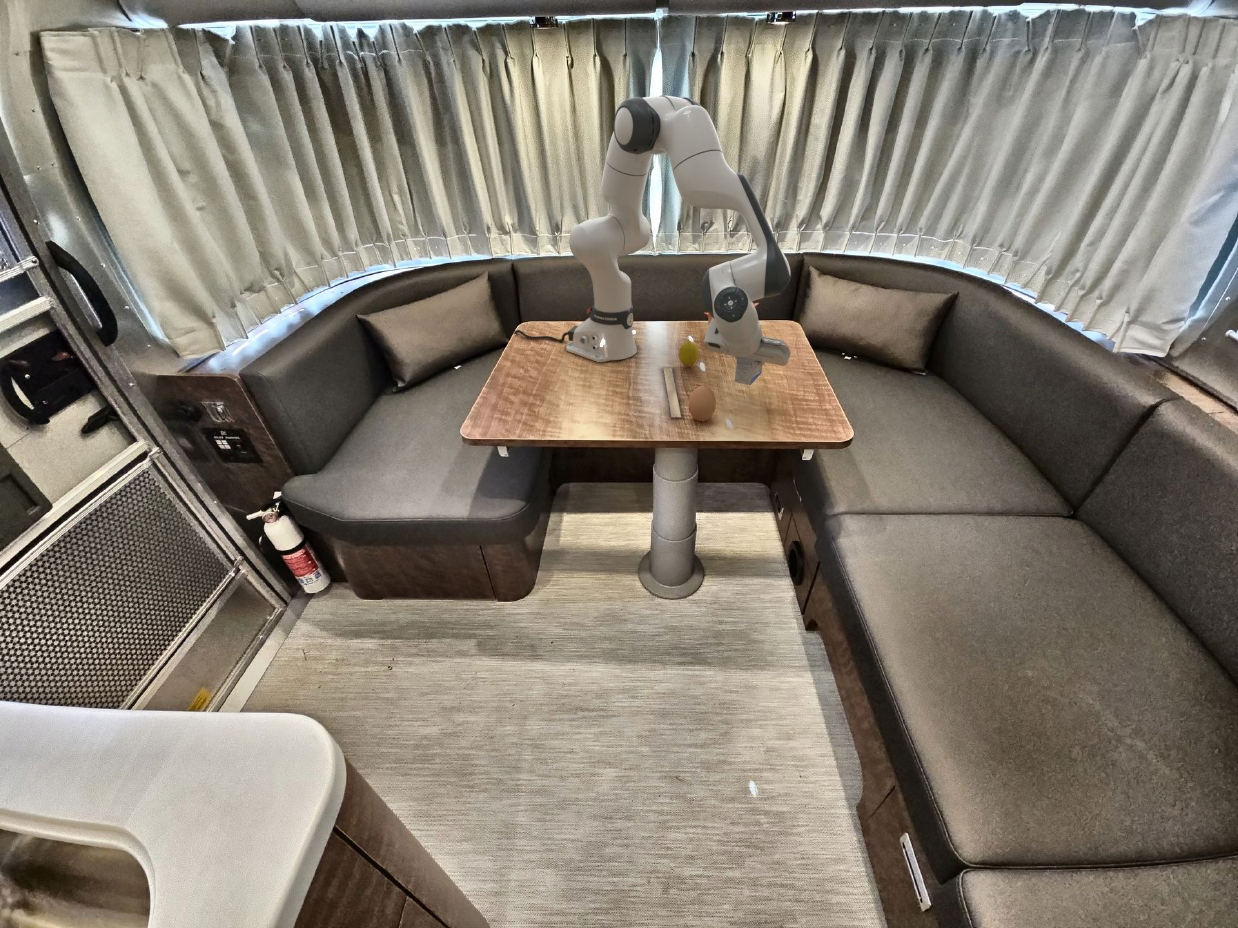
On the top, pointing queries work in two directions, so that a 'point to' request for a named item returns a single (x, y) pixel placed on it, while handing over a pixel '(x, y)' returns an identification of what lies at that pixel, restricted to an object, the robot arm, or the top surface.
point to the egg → (702, 403)
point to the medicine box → (747, 370)
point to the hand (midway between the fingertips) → (750, 359)
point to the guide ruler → (671, 393)
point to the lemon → (688, 353)
